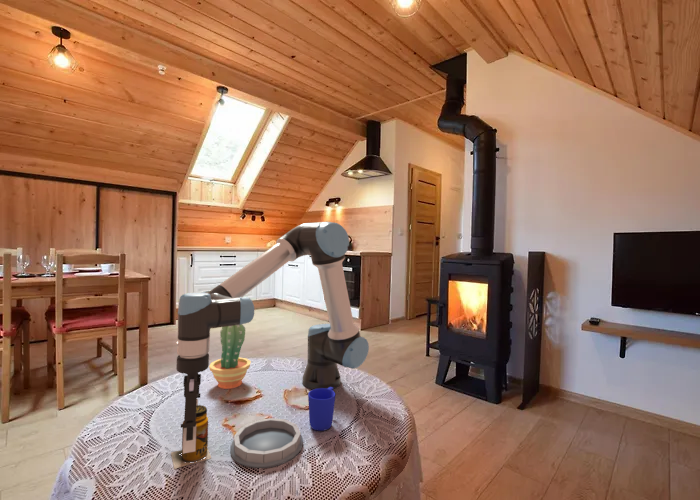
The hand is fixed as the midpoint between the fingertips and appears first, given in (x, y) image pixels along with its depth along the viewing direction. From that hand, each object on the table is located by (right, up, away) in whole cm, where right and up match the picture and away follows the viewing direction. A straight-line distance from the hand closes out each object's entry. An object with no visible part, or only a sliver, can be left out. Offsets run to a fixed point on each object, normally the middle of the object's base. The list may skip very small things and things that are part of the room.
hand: (190, 436), depth 88 cm
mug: (+33, -6, +18) cm, 38 cm away
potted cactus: (-6, -4, +45) cm, 46 cm away
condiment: (0, -5, 0) cm, 5 cm away
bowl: (+18, -5, +6) cm, 20 cm away
